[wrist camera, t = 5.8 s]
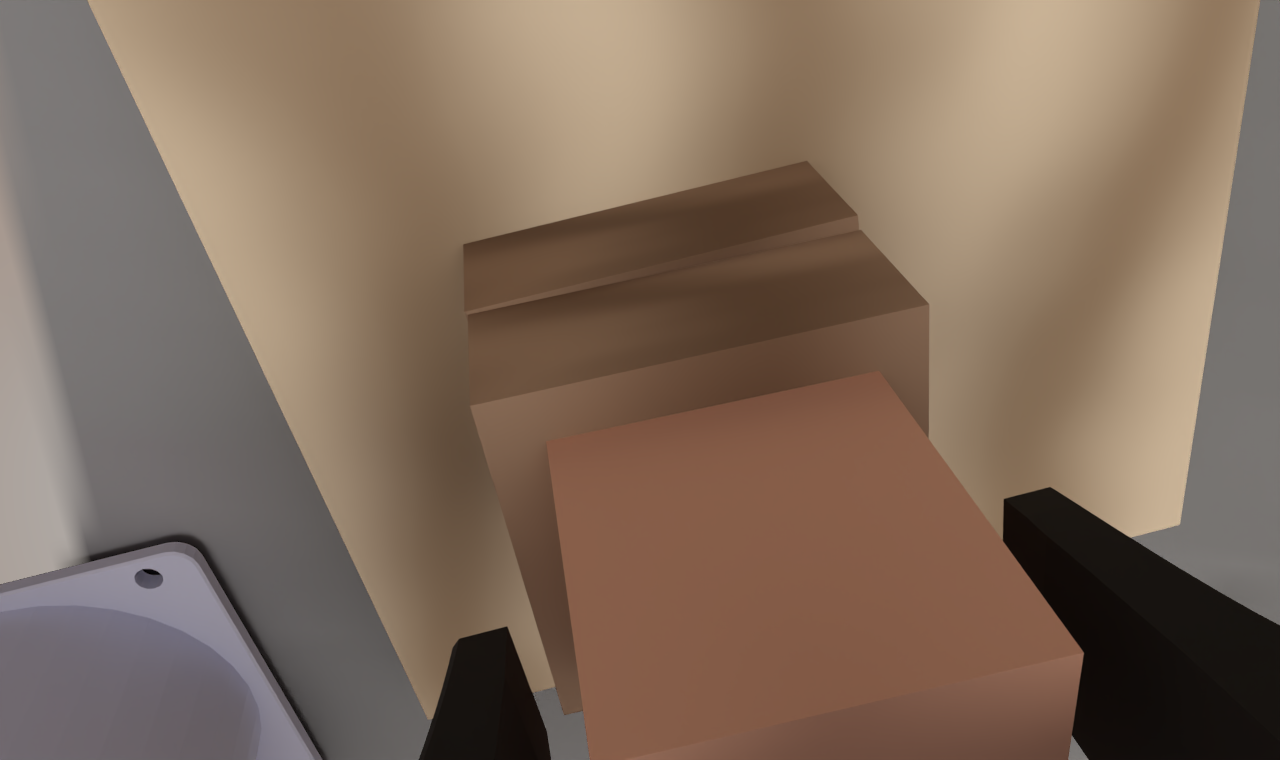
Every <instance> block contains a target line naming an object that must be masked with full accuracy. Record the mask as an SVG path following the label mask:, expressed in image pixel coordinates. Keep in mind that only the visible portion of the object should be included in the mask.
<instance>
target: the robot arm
mask: <svg viewBox="0 0 1280 760" xmlns="http://www.w3.org/2000/svg"><path fill="white" fill-rule="evenodd" d="M1003 542H1004V543H1005V545H1006V546H1007V547H1008V549H1009V550H1010V552H1011V553H1012V554H1013V556H1014V557H1015V558H1016V560H1017V561H1018V563H1019V564H1020V565H1021V567H1022V568H1023V570H1024V571H1025V572H1026V574H1027V575H1028V576H1029V578H1030V579H1031V581H1032V582H1033V583H1034V585H1035V586H1036V587H1037V589H1038V590H1039V592H1040V593H1041V594H1042V596H1043V597H1044V598H1045V600H1046V601H1047V603H1048V604H1049V605H1050V607H1051V608H1052V609H1053V611H1054V612H1055V614H1056V615H1057V616H1058V618H1059V619H1060V620H1061V622H1062V623H1063V625H1064V626H1065V627H1066V629H1067V630H1068V631H1069V633H1070V634H1071V636H1072V637H1073V638H1074V640H1075V641H1076V643H1077V644H1078V645H1079V647H1080V648H1081V649H1082V651H1083V652H1084V655H1083V662H1082V669H1081V675H1080V682H1079V689H1078V696H1077V702H1076V709H1075V716H1074V723H1073V729H1072V736H1073V737H1074V739H1075V740H1076V742H1077V743H1078V745H1079V746H1080V748H1081V749H1082V750H1083V752H1084V753H1085V755H1086V756H1087V758H1088V759H1089V760H1280V625H1278V624H1276V623H1274V622H1272V621H1270V620H1269V619H1267V618H1265V617H1263V616H1261V615H1259V614H1257V613H1255V612H1254V611H1252V610H1250V609H1248V608H1246V607H1245V606H1243V605H1241V604H1239V603H1238V602H1236V601H1234V600H1232V599H1231V598H1229V597H1227V596H1225V595H1224V594H1222V593H1220V592H1218V591H1217V590H1215V589H1213V588H1212V587H1210V586H1208V585H1207V584H1205V583H1203V582H1202V581H1200V580H1198V579H1197V578H1195V577H1193V576H1191V575H1190V574H1188V573H1186V572H1185V571H1183V570H1181V569H1180V568H1178V567H1176V566H1175V565H1173V564H1171V563H1170V562H1168V561H1167V560H1165V559H1163V558H1162V557H1160V556H1159V555H1157V554H1155V553H1154V552H1152V551H1151V550H1149V549H1147V548H1146V547H1144V546H1143V545H1141V544H1139V543H1138V542H1136V541H1135V540H1133V539H1131V538H1130V537H1128V536H1127V535H1125V534H1124V533H1122V532H1120V531H1119V530H1117V529H1116V528H1114V527H1113V526H1111V525H1109V524H1108V523H1106V522H1105V521H1103V520H1102V519H1100V518H1099V517H1097V516H1095V515H1094V514H1092V513H1091V512H1089V511H1088V510H1086V509H1084V508H1083V507H1081V506H1080V505H1078V504H1077V503H1075V502H1074V501H1072V500H1070V499H1069V498H1067V497H1066V496H1064V495H1063V494H1061V493H1059V492H1058V491H1056V490H1055V489H1053V488H1051V487H1048V488H1044V489H1040V490H1036V491H1032V492H1028V493H1024V494H1021V495H1017V496H1013V497H1009V498H1005V499H1004V506H1003ZM142 569H153V570H156V571H158V572H159V573H160V574H161V575H151V574H147V573H145V572H144V571H143V570H142ZM0 760H322V758H321V756H320V755H319V753H318V751H317V750H316V748H315V746H314V744H313V743H312V741H311V739H310V738H309V736H308V734H307V733H306V731H305V729H304V727H303V726H302V724H301V722H300V721H299V719H298V717H297V715H296V714H295V712H294V710H293V709H292V707H291V705H290V703H289V702H288V700H287V698H286V697H285V695H284V693H283V692H282V690H281V688H280V686H279V685H278V683H277V681H276V680H275V678H274V676H273V674H272V673H271V671H270V669H269V668H268V666H267V664H266V663H265V661H264V659H263V657H262V656H261V654H260V652H259V651H258V649H257V647H256V645H255V644H254V642H253V640H252V639H251V637H250V635H249V634H248V632H247V630H246V628H245V627H244V625H243V623H242V622H241V620H240V618H239V616H238V615H237V613H236V611H235V610H234V608H233V606H232V605H231V603H230V601H229V599H228V598H227V596H226V594H225V593H224V591H223V589H222V587H221V586H220V584H219V582H218V581H217V579H216V577H215V576H214V574H213V572H212V570H211V569H210V567H209V565H208V564H207V562H206V560H205V558H204V557H203V555H202V554H201V553H200V552H199V551H198V549H197V548H195V547H193V546H191V545H189V544H186V543H181V542H169V543H164V544H160V545H156V546H152V547H148V548H144V549H140V550H136V551H132V552H128V553H124V554H120V555H116V556H112V557H108V558H104V559H100V560H96V561H92V562H88V563H84V564H80V565H76V566H72V567H68V568H64V569H60V570H56V571H52V572H48V573H44V574H40V575H36V576H32V577H28V578H24V579H20V580H17V581H12V582H8V583H4V584H0ZM419 760H551V756H550V750H549V743H548V736H547V731H546V728H545V726H544V723H543V720H542V718H541V715H540V712H539V709H538V707H537V704H536V701H535V699H534V696H533V693H532V691H531V688H530V685H529V683H528V680H527V677H526V675H525V672H524V669H523V667H522V664H521V661H520V659H519V656H518V653H517V651H516V648H515V645H514V643H513V640H512V637H511V635H510V632H509V629H508V627H507V626H506V627H502V628H499V629H495V630H491V631H487V632H483V633H479V634H475V635H471V636H467V637H463V638H460V639H458V641H457V642H456V644H455V645H454V646H453V648H452V652H451V656H450V660H449V665H448V668H447V672H446V676H445V679H444V683H443V687H442V690H441V694H440V697H439V700H438V704H437V707H436V710H435V713H434V716H433V719H432V723H431V726H430V729H429V732H428V735H427V738H426V741H425V744H424V747H423V750H422V752H421V755H420V758H419Z"/></svg>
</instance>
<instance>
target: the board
mask: <svg viewBox="0 0 1280 760" xmlns="http://www.w3.org/2000/svg"><path fill="white" fill-rule="evenodd" d="M87 1H88V3H89V5H90V7H91V9H92V11H93V13H94V15H95V18H96V20H97V22H98V24H99V26H100V28H101V30H102V32H103V34H104V37H105V39H106V41H107V43H108V45H109V47H110V49H111V51H112V53H113V56H114V58H115V60H116V62H117V64H118V66H119V68H120V70H121V72H122V75H123V77H124V79H125V81H126V83H127V85H128V87H129V89H130V91H131V94H132V96H133V98H134V100H135V102H136V104H137V106H138V108H139V110H140V113H141V115H142V117H143V119H144V121H145V123H146V125H147V127H148V129H149V132H150V134H151V136H152V138H153V140H154V142H155V144H156V146H157V148H158V151H159V153H160V155H161V157H162V159H163V161H164V163H165V165H166V167H167V170H168V172H169V174H170V176H171V178H172V180H173V182H174V184H175V186H176V189H177V191H178V193H179V195H180V197H181V199H182V201H183V203H184V205H185V208H186V210H187V212H188V214H189V216H190V218H191V220H192V222H193V224H194V227H195V229H196V231H197V233H198V235H199V237H200V239H201V241H202V243H203V245H204V248H205V250H206V252H207V254H208V256H209V258H210V260H211V262H212V264H213V267H214V269H215V271H216V273H217V275H218V277H219V279H220V281H221V283H222V286H223V288H224V290H225V292H226V294H227V296H228V298H229V300H230V302H231V305H232V307H233V309H234V311H235V313H236V315H237V317H238V319H239V321H240V324H241V326H242V328H243V330H244V332H245V334H246V336H247V338H248V340H249V343H250V345H251V347H252V349H253V351H254V353H255V355H256V357H257V359H258V362H259V364H260V366H261V368H262V370H263V372H264V374H265V376H266V378H267V381H268V383H269V385H270V387H271V389H272V391H273V393H274V395H275V397H276V400H277V402H278V404H279V406H280V408H281V410H282V412H283V414H284V416H285V419H286V421H287V423H288V425H289V427H290V429H291V431H292V433H293V435H294V438H295V440H296V442H297V444H298V446H299V448H300V450H301V452H302V454H303V457H304V459H305V461H306V463H307V465H308V467H309V469H310V471H311V473H312V476H313V478H314V480H315V482H316V484H317V486H318V488H319V490H320V492H321V495H322V497H323V499H324V501H325V503H326V505H327V507H328V509H329V511H330V514H331V516H332V518H333V520H334V522H335V524H336V526H337V528H338V530H339V533H340V535H341V537H342V539H343V541H344V543H345V545H346V547H347V549H348V552H349V554H350V556H351V558H352V560H353V562H354V564H355V566H356V568H357V571H358V573H359V575H360V577H361V579H362V581H363V583H364V585H365V587H366V590H367V592H368V594H369V596H370V598H371V600H372V602H373V604H374V606H375V609H376V611H377V613H378V615H379V617H380V619H381V621H382V623H383V625H384V628H385V630H386V632H387V634H388V636H389V638H390V640H391V642H392V644H393V647H394V649H395V651H396V653H397V655H398V657H399V659H400V661H401V663H402V666H403V668H404V670H405V672H406V674H407V676H408V678H409V680H410V682H411V685H412V687H413V689H414V691H415V693H416V695H417V697H418V699H419V701H420V704H421V706H422V708H423V710H424V712H425V714H426V716H427V718H428V720H429V719H433V716H434V713H435V710H436V707H437V704H438V700H439V697H440V694H441V690H442V687H443V683H444V679H445V676H446V672H447V668H448V665H449V660H450V656H451V652H452V648H453V646H454V645H455V644H456V642H457V641H458V639H460V638H463V637H467V636H471V635H475V634H479V633H483V632H487V631H491V630H495V629H499V628H502V627H506V626H507V627H508V629H509V632H510V635H511V637H512V640H513V643H514V645H515V648H516V651H517V653H518V656H519V659H520V661H521V664H522V667H523V669H524V672H525V675H526V677H527V680H528V683H529V685H530V688H531V691H532V693H533V692H537V691H541V690H545V689H549V688H552V687H555V683H554V680H553V677H552V674H551V670H550V667H549V664H548V660H547V657H546V654H545V651H544V647H543V644H542V641H541V638H540V634H539V631H538V628H537V624H536V621H535V618H534V615H533V611H532V608H531V605H530V601H529V598H528V595H527V592H526V588H525V585H524V582H523V579H522V575H521V572H520V569H519V565H518V562H517V559H516V556H515V552H514V549H513V546H512V542H511V539H510V536H509V533H508V529H507V526H506V523H505V520H504V516H503V513H502V510H501V506H500V503H499V500H498V497H497V493H496V490H495V487H494V483H493V480H492V477H491V474H490V470H489V467H488V464H487V461H486V457H485V454H484V451H483V447H482V444H481V441H480V438H479V434H478V431H477V428H476V424H475V421H474V418H473V415H472V411H471V408H470V389H469V345H468V321H467V318H466V315H465V312H464V257H463V244H466V243H470V242H475V241H479V240H483V239H487V238H491V237H495V236H499V235H503V234H507V233H512V232H516V231H520V230H524V229H528V228H532V227H536V226H540V225H545V224H549V223H553V222H557V221H561V220H565V219H569V218H573V217H577V216H582V215H586V214H590V213H594V212H598V211H602V210H606V209H610V208H615V207H619V206H623V205H627V204H631V203H635V202H639V201H643V200H647V199H652V198H656V197H660V196H664V195H668V194H672V193H676V192H680V191H685V190H689V189H693V188H697V187H701V186H705V185H709V184H713V183H717V182H722V181H726V180H730V179H734V178H738V177H742V176H746V175H750V174H755V173H759V172H763V171H767V170H771V169H775V168H779V167H783V166H787V165H792V164H796V163H800V162H804V161H808V162H809V164H810V165H811V166H812V167H813V168H814V169H815V170H816V171H817V172H818V173H819V174H820V175H821V176H822V177H823V178H824V179H825V181H826V182H827V183H828V184H829V185H830V186H831V187H832V188H833V189H834V190H835V191H836V192H837V193H838V194H839V195H840V197H841V198H842V199H843V200H844V201H845V202H846V203H847V204H848V205H849V206H850V207H851V208H852V209H853V210H854V211H855V213H856V214H857V215H858V222H859V230H862V231H863V232H864V233H865V235H866V236H867V237H868V238H869V239H870V240H871V241H872V242H873V243H874V244H875V245H876V247H877V248H878V249H879V250H880V251H881V252H882V253H883V254H884V255H885V256H886V258H887V259H888V260H889V261H890V262H891V263H892V264H893V265H894V266H895V267H896V268H897V270H898V271H899V272H900V273H901V274H902V275H903V276H904V277H905V278H906V279H907V281H908V282H909V283H910V284H911V285H912V286H913V287H914V288H915V289H916V290H917V291H918V293H919V294H920V295H921V296H922V297H923V298H924V299H925V300H926V301H927V302H928V303H929V440H930V441H931V443H932V444H933V446H934V447H935V448H936V450H937V451H938V452H939V454H940V455H941V457H942V458H943V459H944V461H945V462H946V463H947V465H948V466H949V468H950V469H951V470H952V472H953V473H954V474H955V476H956V477H957V479H958V480H959V481H960V483H961V484H962V485H963V487H964V488H965V490H966V491H967V492H968V494H969V495H970V496H971V498H972V499H973V501H974V502H975V503H976V505H977V506H978V508H979V509H980V510H981V512H982V513H983V514H984V516H985V517H986V519H987V520H988V521H989V523H990V524H991V525H992V527H993V528H994V530H995V531H996V532H997V534H998V535H999V536H1000V538H1001V539H1002V541H1003V506H1004V499H1005V498H1009V497H1013V496H1017V495H1021V494H1024V493H1028V492H1032V491H1036V490H1040V489H1044V488H1048V487H1051V488H1053V489H1055V490H1056V491H1058V492H1059V493H1061V494H1063V495H1064V496H1066V497H1067V498H1069V499H1070V500H1072V501H1074V502H1075V503H1077V504H1078V505H1080V506H1081V507H1083V508H1084V509H1086V510H1088V511H1089V512H1091V513H1092V514H1094V515H1095V516H1097V517H1099V518H1100V519H1102V520H1103V521H1105V522H1106V523H1108V524H1109V525H1111V526H1113V527H1114V528H1116V529H1117V530H1119V531H1120V532H1122V533H1124V534H1125V535H1127V536H1128V537H1134V536H1138V535H1142V534H1146V533H1150V532H1154V531H1157V530H1161V529H1165V528H1169V527H1173V526H1177V525H1180V520H1181V513H1182V507H1183V500H1184V494H1185V487H1186V481H1187V474H1188V468H1189V461H1190V454H1191V448H1192V441H1193V435H1194V428H1195V422H1196V415H1197V409H1198V402H1199V396H1200V389H1201V383H1202V376H1203V370H1204V363H1205V357H1206V350H1207V344H1208V337H1209V331H1210V324H1211V317H1212V311H1213V304H1214V298H1215V291H1216V285H1217V278H1218V272H1219V265H1220V259H1221V252H1222V246H1223V239H1224V233H1225V226H1226V220H1227V213H1228V207H1229V200H1230V193H1231V187H1232V180H1233V174H1234V167H1235V161H1236V154H1237V148H1238V141H1239V135H1240V128H1241V122H1242V115H1243V109H1244V102H1245V96H1246V89H1247V83H1248V76H1249V69H1250V63H1251V56H1252V50H1253V43H1254V37H1255V30H1256V24H1257V17H1258V11H1259V4H1260V0H87Z"/></svg>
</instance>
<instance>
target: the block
mask: <svg viewBox="0 0 1280 760" xmlns="http://www.w3.org/2000/svg"><path fill="white" fill-rule="evenodd" d="M546 445H547V452H548V459H549V466H550V474H551V481H552V488H553V495H554V503H555V510H556V517H557V524H558V532H559V539H560V546H561V553H562V561H563V568H564V575H565V582H566V590H567V597H568V604H569V611H570V619H571V626H572V633H573V640H574V648H575V655H576V662H577V669H578V677H579V684H580V691H581V699H582V706H583V713H584V720H585V728H586V735H587V742H588V749H589V757H590V760H1068V756H1069V749H1070V743H1071V736H1072V729H1073V723H1074V716H1075V709H1076V702H1077V696H1078V689H1079V682H1080V675H1081V669H1082V662H1083V655H1084V652H1083V651H1082V649H1081V648H1080V647H1079V645H1078V644H1077V643H1076V641H1075V640H1074V638H1073V637H1072V636H1071V634H1070V633H1069V631H1068V630H1067V629H1066V627H1065V626H1064V625H1063V623H1062V622H1061V620H1060V619H1059V618H1058V616H1057V615H1056V614H1055V612H1054V611H1053V609H1052V608H1051V607H1050V605H1049V604H1048V603H1047V601H1046V600H1045V598H1044V597H1043V596H1042V594H1041V593H1040V592H1039V590H1038V589H1037V587H1036V586H1035V585H1034V583H1033V582H1032V581H1031V579H1030V578H1029V576H1028V575H1027V574H1026V572H1025V571H1024V570H1023V568H1022V567H1021V565H1020V564H1019V563H1018V561H1017V560H1016V558H1015V557H1014V556H1013V554H1012V553H1011V552H1010V550H1009V549H1008V547H1007V546H1006V545H1005V543H1004V542H1003V541H1002V539H1001V538H1000V536H999V535H998V534H997V532H996V531H995V530H994V528H993V527H992V525H991V524H990V523H989V521H988V520H987V519H986V517H985V516H984V514H983V513H982V512H981V510H980V509H979V508H978V506H977V505H976V503H975V502H974V501H973V499H972V498H971V496H970V495H969V494H968V492H967V491H966V490H965V488H964V487H963V485H962V484H961V483H960V481H959V480H958V479H957V477H956V476H955V474H954V473H953V472H952V470H951V469H950V468H949V466H948V465H947V463H946V462H945V461H944V459H943V458H942V457H941V455H940V454H939V452H938V451H937V450H936V448H935V447H934V446H933V444H932V443H931V441H930V440H929V439H928V437H927V436H926V435H925V433H924V432H923V430H922V429H921V428H920V426H919V425H918V423H917V422H916V421H915V419H914V418H913V417H912V415H911V414H910V412H909V411H908V410H907V408H906V407H905V406H904V404H903V403H902V401H901V400H900V399H899V397H898V396H897V395H896V393H895V392H894V390H893V389H892V388H891V386H890V385H889V384H888V382H887V381H886V379H885V378H884V377H883V375H882V374H881V373H880V371H875V372H871V373H866V374H861V375H856V376H852V377H847V378H842V379H838V380H833V381H828V382H823V383H819V384H814V385H809V386H805V387H800V388H795V389H791V390H786V391H781V392H776V393H772V394H767V395H762V396H758V397H753V398H748V399H743V400H739V401H734V402H729V403H725V404H720V405H715V406H711V407H706V408H701V409H696V410H692V411H687V412H682V413H678V414H673V415H668V416H663V417H659V418H654V419H649V420H645V421H640V422H635V423H631V424H626V425H621V426H616V427H612V428H607V429H602V430H598V431H593V432H588V433H583V434H579V435H574V436H569V437H565V438H560V439H555V440H551V441H546Z"/></svg>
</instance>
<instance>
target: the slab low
mask: <svg viewBox="0 0 1280 760" xmlns="http://www.w3.org/2000/svg"><path fill="white" fill-rule="evenodd" d="M858 230H859V222H858V215H857V214H856V213H855V211H854V210H853V209H852V208H851V207H850V206H849V205H848V204H847V203H846V202H845V201H844V200H843V199H842V198H841V197H840V195H839V194H838V193H837V192H836V191H835V190H834V189H833V188H832V187H831V186H830V185H829V184H828V183H827V182H826V181H825V179H824V178H823V177H822V176H821V175H820V174H819V173H818V172H817V171H816V170H815V169H814V168H813V167H812V166H811V165H810V164H809V162H808V161H804V162H800V163H796V164H792V165H787V166H783V167H779V168H775V169H771V170H767V171H763V172H759V173H755V174H750V175H746V176H742V177H738V178H734V179H730V180H726V181H722V182H717V183H713V184H709V185H705V186H701V187H697V188H693V189H689V190H685V191H680V192H676V193H672V194H668V195H664V196H660V197H656V198H652V199H647V200H643V201H639V202H635V203H631V204H627V205H623V206H619V207H615V208H610V209H606V210H602V211H598V212H594V213H590V214H586V215H582V216H577V217H573V218H569V219H565V220H561V221H557V222H553V223H549V224H545V225H540V226H536V227H532V228H528V229H524V230H520V231H516V232H512V233H507V234H503V235H499V236H495V237H491V238H487V239H483V240H479V241H475V242H470V243H466V244H463V257H464V312H465V315H466V318H467V321H468V315H469V314H473V313H478V312H483V311H487V310H492V309H497V308H501V307H506V306H510V305H515V304H520V303H524V302H529V301H534V300H538V299H543V298H547V297H552V296H557V295H561V294H566V293H571V292H575V291H580V290H585V289H589V288H594V287H598V286H603V285H608V284H612V283H617V282H622V281H626V280H631V279H635V278H640V277H645V276H649V275H654V274H659V273H663V272H668V271H672V270H677V269H682V268H686V267H691V266H696V265H700V264H705V263H709V262H714V261H719V260H723V259H728V258H733V257H737V256H742V255H746V254H751V253H756V252H760V251H765V250H770V249H774V248H779V247H783V246H788V245H793V244H797V243H802V242H807V241H811V240H816V239H821V238H825V237H830V236H834V235H839V234H844V233H848V232H853V231H858Z"/></svg>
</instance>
